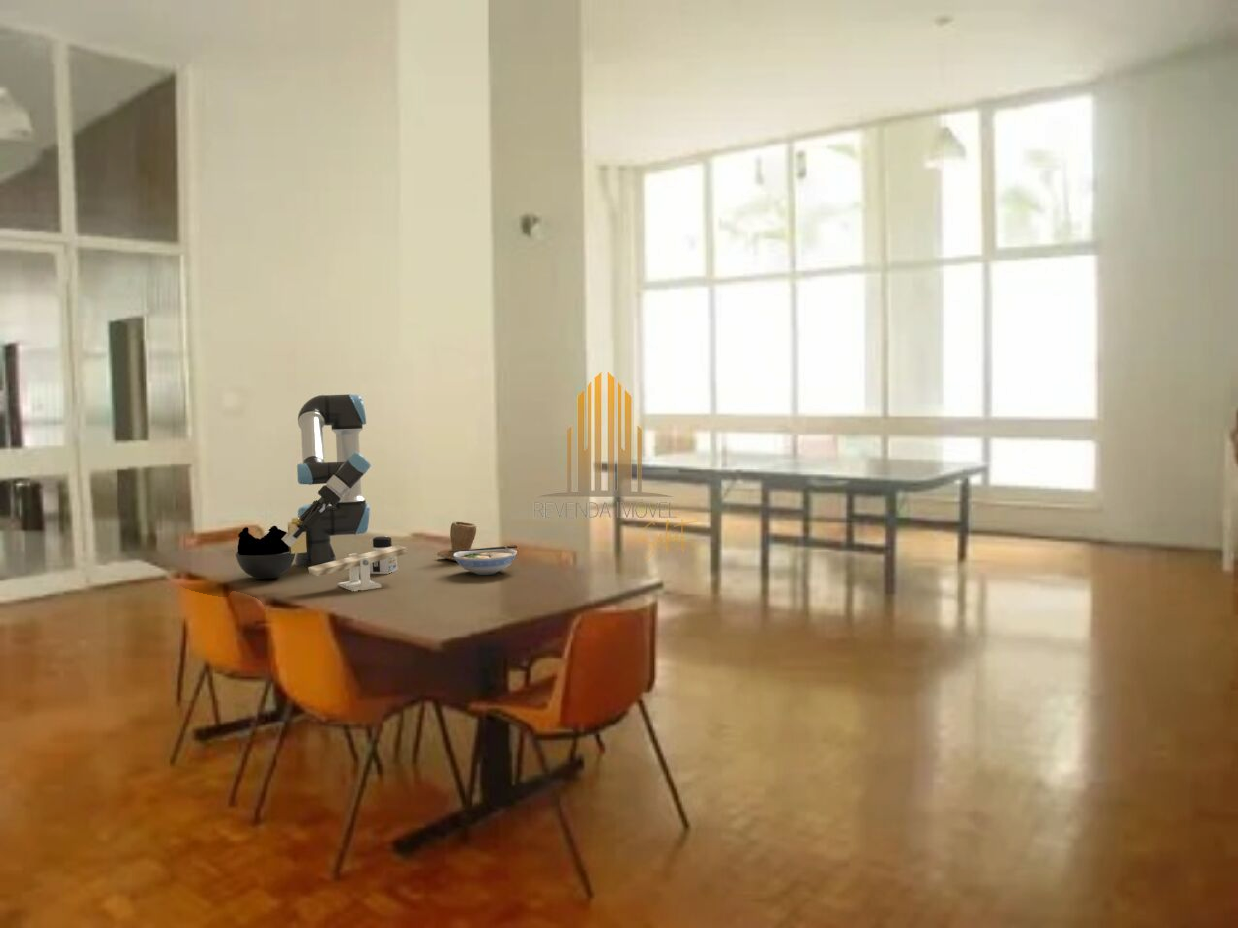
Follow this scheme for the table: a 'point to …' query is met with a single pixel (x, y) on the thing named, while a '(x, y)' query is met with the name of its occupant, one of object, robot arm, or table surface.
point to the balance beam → (357, 560)
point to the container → (386, 564)
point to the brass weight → (301, 541)
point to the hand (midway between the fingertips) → (285, 543)
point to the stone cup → (459, 538)
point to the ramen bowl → (485, 559)
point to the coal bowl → (264, 554)
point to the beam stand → (364, 581)
